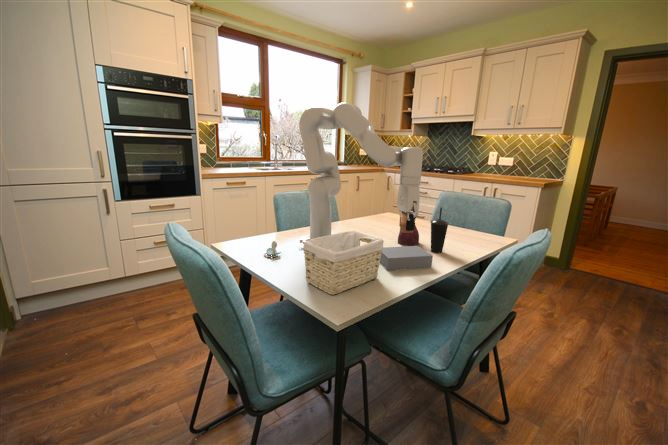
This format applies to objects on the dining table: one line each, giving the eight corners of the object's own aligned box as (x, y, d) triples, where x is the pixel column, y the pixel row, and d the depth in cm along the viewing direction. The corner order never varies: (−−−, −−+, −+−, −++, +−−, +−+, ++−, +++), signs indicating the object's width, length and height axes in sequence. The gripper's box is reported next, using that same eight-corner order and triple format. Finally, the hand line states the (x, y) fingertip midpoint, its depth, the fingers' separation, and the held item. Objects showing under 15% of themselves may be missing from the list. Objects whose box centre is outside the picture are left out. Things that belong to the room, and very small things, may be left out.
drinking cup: (445, 250, 139) (450, 206, 135) (445, 255, 132) (450, 210, 128) (427, 247, 142) (432, 205, 137) (427, 253, 135) (431, 208, 130)
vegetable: (419, 252, 145) (428, 225, 138) (397, 249, 145) (406, 221, 138) (415, 240, 154) (424, 214, 147) (395, 237, 154) (402, 211, 147)
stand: (387, 270, 115) (388, 258, 113) (376, 259, 126) (377, 247, 125) (431, 267, 118) (432, 255, 117) (416, 257, 130) (417, 245, 129)
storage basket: (350, 265, 120) (352, 228, 116) (383, 278, 108) (386, 238, 104) (301, 282, 104) (300, 240, 100) (333, 300, 92) (334, 253, 89)
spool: (403, 233, 116) (404, 215, 114) (397, 229, 121) (399, 212, 119) (415, 232, 117) (416, 214, 115) (409, 229, 122) (410, 211, 120)
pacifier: (269, 260, 123) (282, 256, 127) (268, 245, 121) (282, 242, 125) (261, 255, 128) (274, 252, 132) (260, 241, 127) (273, 238, 130)
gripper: (391, 178, 122) (389, 223, 126) (411, 184, 105) (407, 235, 110) (409, 178, 123) (406, 222, 127) (430, 183, 107) (426, 234, 111)
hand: (406, 228), depth 119 cm, fingers closed on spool, 5 cm apart
